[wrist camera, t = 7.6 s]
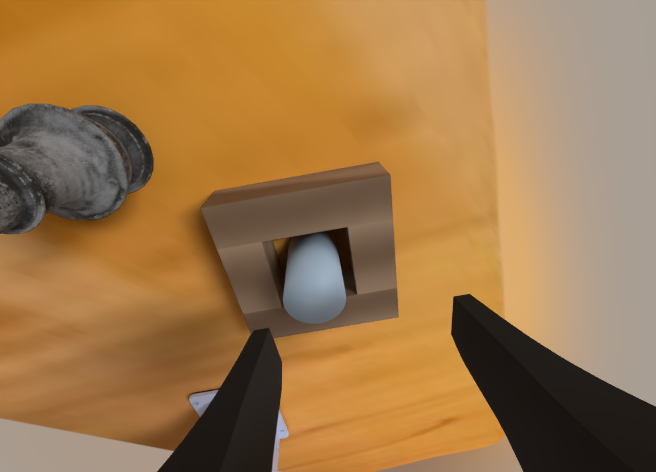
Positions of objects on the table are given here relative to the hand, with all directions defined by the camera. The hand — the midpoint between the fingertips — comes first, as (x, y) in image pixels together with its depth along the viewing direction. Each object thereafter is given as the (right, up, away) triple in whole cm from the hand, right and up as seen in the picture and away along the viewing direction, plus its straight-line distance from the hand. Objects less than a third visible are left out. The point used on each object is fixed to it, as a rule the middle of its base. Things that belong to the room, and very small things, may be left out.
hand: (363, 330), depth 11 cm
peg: (-3, +3, +10) cm, 11 cm away
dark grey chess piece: (-15, +9, +6) cm, 19 cm away
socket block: (-3, +3, +10) cm, 11 cm away
